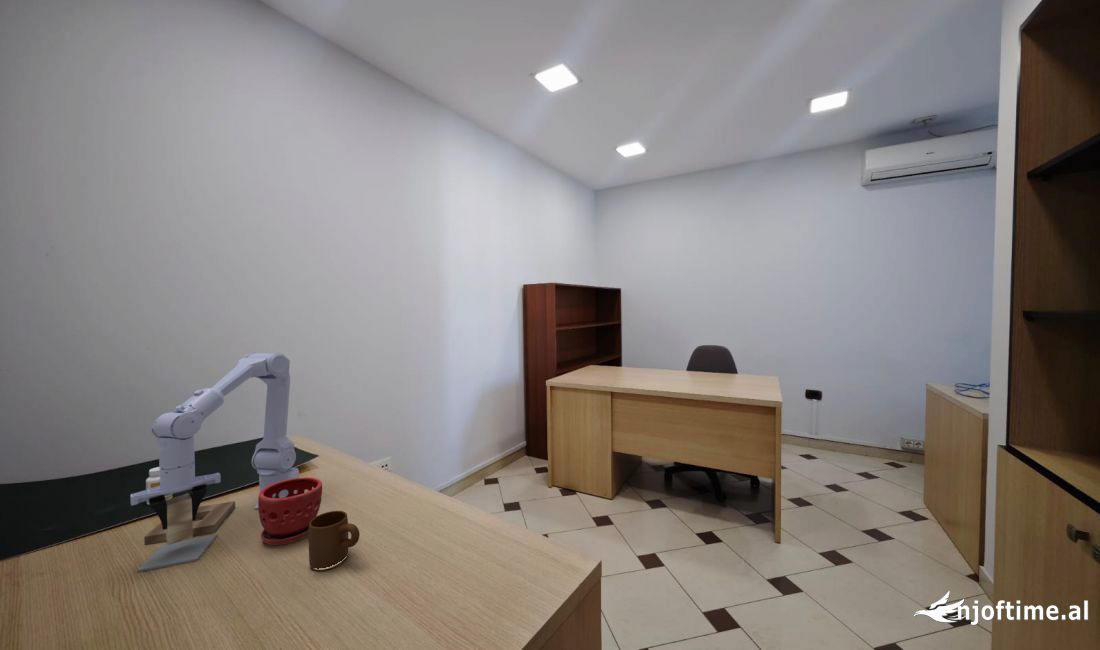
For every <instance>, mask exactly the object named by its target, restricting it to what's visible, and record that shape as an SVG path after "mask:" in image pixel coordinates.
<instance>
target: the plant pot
mask: <svg viewBox="0 0 1100 650" xmlns="http://www.w3.org/2000/svg"><path fill="white" fill-rule="evenodd" d="M282 490H287V491H288V495H287V496H286V497H284V498H280V497H279V493H280V492H281V491H282ZM294 490H297V491H298V492H297V493H296V494H295V493H294ZM306 490H307V491H306ZM305 491H306V492H305ZM273 494H276V496H275V497H274V498H273V497H272V496H273ZM322 495H323V482H322V481H321V480H320V479H318V478H315V477H299V478H294V479H288V480H284V481H281V482H277V483H274V484H272V485H270V486H268V487H266V488H264V489H263V490H261V492H260V491H259V494H258V500H257V503H258V509H257V510H258V516H259V520H260V523H261V526H262V528H263V530H262V531H261V533H260V539H261V540H262V541H263V542H264V543H266V544H267V545H274V546H275V545H276V546H277V545H278V546H279V545H286V544H287V545H288V544H290V543H294V542H296V541H299V540H301V539H304V538H305V537H306V536H308V531H309V523H310V521H311V520H312V519H313V518H315V517H316V516H318V515H319V514H318V513H319V511H320V508H321V503H322Z"/></svg>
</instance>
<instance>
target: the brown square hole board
mask: <svg viewBox="0 0 1100 650" xmlns="http://www.w3.org/2000/svg"><path fill="white" fill-rule="evenodd" d="M235 509H236V501H234V500H233V501H227V502H220V503H215V504H209V505H208V504H207V505H202V506H201V505H200V506H199V508H198V511H197V514H196V520H194V521H192V528H193V537H197V536H203V535H207V534H209V535H210V534H215V532H216V531H217V530H218V529H219V528H220V527H221V526H222V524H223V523H224V522H225V521H226V520H227V519H228V518H229V516H230V513H231V514H232V513H233V511H235ZM225 519H226V520H225ZM224 520H225V521H224ZM143 539H144V541H143V542H144V546H148V545H153V544H160V543H163V542H164V543H165V542H167V540H166V529H165V530H163V528H162V523H161V522H160V523H159V524H157V525H156V526H155V527H154V528H153V529H151V530H150V531H149V532H148V533H147V534H146V535H145V536H144V537H143Z"/></svg>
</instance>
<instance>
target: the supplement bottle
mask: <svg viewBox="0 0 1100 650" xmlns="http://www.w3.org/2000/svg"><path fill="white" fill-rule="evenodd" d="M148 476H149V477H147V478H146V479H145V490H147V489H150V488H153V487H156V486H159V485H160V467H159V466H157V467H153V468H150V469H149V471H148ZM173 495H174V494H170V495H167V496H165V500H167V499H170V498H174V496H173ZM146 505H149V506H150V504H149V501H148V500H147V501H146Z"/></svg>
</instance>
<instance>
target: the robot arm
mask: <svg viewBox="0 0 1100 650" xmlns="http://www.w3.org/2000/svg"><path fill="white" fill-rule="evenodd" d="M290 363H291V362H290V359H289V358H288V357H287V356H286V355H285V354H283V353H282V352H275V353H273V352H272V353H270V352H269V353H267V352H266V353H261V352H250V353H247V354H246V355H244V356H243V358H240V359H239V360H238V362H237V365H236V366H234V368H232V369H231V370H229V372H228V373H226V375H224V376H223V377H222V378H221V379H220V380H219V381H217V382H216V384H214V385H213V386H212V387H211V388H209V387H206V388H202V389H197V390H196V391H195V390H194V392H193V395H192V396H191V397H189V398H188V399H187V400H185V401H184V402H183V403H181V404H180V405H179V404H178V405H177V406H175V407H174V410H172V412H171V411H170V412H166V413H163V414H161V415H160V416H159V417H157V418H156V419H155V421H154V423H153V425H152V427H150V429H149V430H150V433H151V435H152V436H153V437H155V438H156V444H157V445H158V459H159V460H158V461H159V464H158V465H159V466H158V467H160V485H159V486H156V487H153V488H150V489H147V490H146V489H144V490H141V491H138V492H135V493H134V492H133V493H131V494H130V506H135V505H139V504H140V503H144V502H147V500H148V501H149V504H150V505H149V506H150V508H151V509H152V510H153V511H154V512H155V514H156V515H157V517H158V518H159V520H160V523H162V528H163V530H165V529H167V518H166V500H165V496H167V495H170V494H173V495H174V494H178V493H181V492H185V491H189V495H190V496H191V498H192V522H194V520H196V514H197V511H198V508H199V507H200V506H201V503H202V501H203V499H204V497H205V495H206V493H207V490H208V488H207V486H208V485H212V484H219V483H221V477H222V476H221V473H220V472H216V473H211V474H205V475H199V476H196V465H195V464H196V462H195V461H196V460H195V458H196V457H195V435H196V434H198V433H199V431H200V429H201V427H202V424H203V423H204V421H205V420H206V419H207V418H208V417H209V416H210V415H211V414H213V413H214V412H215V411H216V410H218V409H219V408H220V407H221V406H223V404H224V402H225V396H227V395H229V394H230V393H231V392H233V391H234V390H236V389H237V388H238V387H240V386H241V385H242V384H244V383H245V382H246V381H248V380H249V379H251V378H257V379H259V380H261V382H263V383H264V384H265V385H267V386H266V388H267V389H266V398H265V399H266V400H265V413H264V414H265V415H264V423H263V424H264V426H263V428H264V429H263V438H262V439H261V440H260V442H257V444H256V445H255V448H254V449H255V450H254V453H253V455H252V458H251V466H252V467H253V469H254V470H256V473H257V474H258V479H259V482H258V484H259V493H260V492H261V490H263V489H264V488H266V487H268V486H270V485H272V484H274V483H277V482H281V481H284V480H288V479H294V478H300V470H299V468H298V467H293V466H294V464H295V462H296V459H297V453H296V451H295V443H294V442H293V441H292V440H291V439H289V438H288V437H287V431H288V430H287V428H288V419H289V418H288V416H289V401H290V386H291V375H290ZM297 492H298V491H297V490H294V493H295V494H296V493H297ZM287 495H288V491H287V490H282V491H281V492H280V493H279V497H280V498H284V497H286V496H287ZM275 496H276V494H273V496H272V497H273V498H274V497H275ZM253 509H254V510H258V502H257V503H256V505H255V506H254V508H253ZM196 521H197V520H196Z"/></svg>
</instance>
